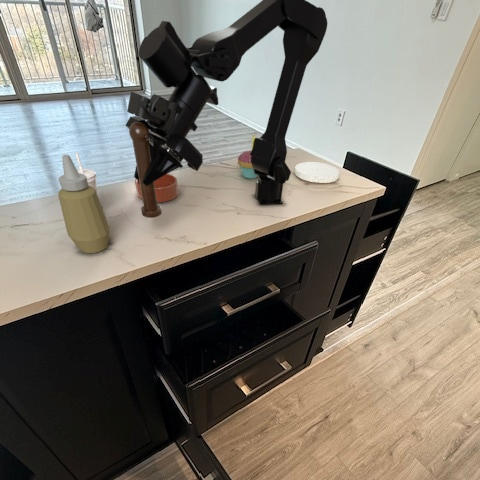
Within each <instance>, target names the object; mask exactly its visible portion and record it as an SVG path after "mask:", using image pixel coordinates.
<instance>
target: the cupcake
mask: <svg viewBox="0 0 480 480" xmlns="http://www.w3.org/2000/svg"><path fill="white" fill-rule="evenodd" d="M255 133H256V132H255V131H253V135H252V140H251V141H252V142H251V149H252V148H253V143H254V140H255V138H256V134H255ZM251 151H252V150H245V151H243V152H241V153H240V154H239V155H238V156H237V165H238V166H239V167H240V169H241V173H242V174H241V175H242V177H243V178H245V179H256V178H258V176H259V175H257V174H254V170H253V166H252V163H251V156H252V155H250V153H251Z"/></svg>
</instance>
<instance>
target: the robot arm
mask: <svg viewBox="0 0 480 480" xmlns="http://www.w3.org/2000/svg"><path fill="white" fill-rule="evenodd" d="M277 27H278V28H279V29H280V30H282V31H283V35H282V36H283V37H282V45H283V53H284V59H283V60H284V61H283V65H282V69H281V72H280V75H279V79H278V83H277V86H276V87H277V88H276V90H275V94H274V98H273V102H272V106H271V110H270V113H269V117H268V120H267V125H266V129H265V131H264V132H263V134H262V135H261V136H260V137H257V136H255V140H254V143H253V148H252V147H251V150H250V151H251V153H250V155H252V156H251V163H252V166H253V170H254V174H257V175H258V176H257V181H255V191H254V197H255V199H256V200H257V202H258V204H259V205H260V206H266V205H267V206H269V205H271V206H272V205H283V204H284V201H283V199H282V195H283V190H284V184H286V182H288V181H289V180H290V177H291V175H292V171H291V169H290V167H289V166H288V164H287V163H286V158H287V154H288V149H287V142H286V135H287V132H288V129H289V125H290V122H291V119H292V115H293V113H294V108H295V105H296V102H297V98H298V95H299V92H300V88H301V85H302V82H303V80H304V75H305V72H306V69H307V66H308V64H309V63H310V62H311V61H312V60H313V58H315V56H316V55H317V53H318V52H319V51H320V48H321V46H322V44H323V41H324V38H325V36H326V33H327V30H328V18H327V14H326V11H325V10H324V8H323V7H320V6H316V5H315V4H313V3H311V2H309V1H307V0H260V2H259V3H257V4H256V5H254V6H253V7H252V8H250V10H248V11H246V13H244V14H243V15H242V16H240V17H239V18H238V19H237V20H235V21H234V22H233V23H231V24H230V25H229V26H227V27H225V28H223V29H220V30H219V29H218V30H216V31H211V32H209V33H207V34H204V35H202V36H200V37H198V38H196V39H195V40H194V42H193V43H192V45H191V46H188V47H187V46H186V45H185V44H184V42H183V40H182V39H181V38H180V37H179V35H178V33H177V31H176V29H175V27H174V26H173V24H172V23H171V21H167V20H165V21H164V20H161V22H160V23H159V25H158V26H157V27H155V28H154V29H153V30H151V31H150V32H149V33H148V34H147V36H144V37H143V39H142V41H141V43H140V45H139V49H138V57H139V59H141V61H142V62H143V63H144V64H145V65H146V67H147V68H148V70H150V71H151V72H152V74H153V75H154V76H155V77H156V78H157V80H159V82H160V83H161V84H162V85H163V87H165V88H172V87H173V88H174V89H173V90H172V93H171V94H170V96H169V97H168V99H166V98H164V97H162V96H160V95H158V94H155V93H153V94H152V95H151V96H150V98H148V97H147V96H144V95H142V94H139V93H137V92H133V91H130V95H129V99H128V104H127V110H126V111H127V113H128V114H131V115H134V116H129V118H128V120H127V122H126V123H125V127H126V128H127V129H128V130H129V129H130V126H131V125H132V124H133V123H135V122H141V123H143V124H144V125H145V126H146V127H147V128H148V130H149V139H148V141H149V148H150V155H151V163H150V165H149V167H148V169H147V171H146V173H145V175H144V178H143V180H142V183H143V184H144V185H146V186H147V185H149V184H151V183H152V182H154V181H156V180H157V179H159V178H161V177H162V176H164V175H166V174H170V173H171V172H173V171H175V170H177V169H179V168H180V169H182V168H183V167H184V165H183V164H182V162H183V161H185V162H186V166H187V167H188V168H190V169H192V170H193V171H196V172H198V171H199V170H200V168H201V167H202V164H203V162H204V158H203V157H204V156H203V154H202V153H201V151H199V150H198V149H197V148H196V146H194V145H193V143H192V142H191V141H190V140H189V139H188V138H186V137H187V136H188V134H189V132H190V131H192V132H196V131H197V129H198V125H197V124H196V121H197V119H198V117H199V116H200V114H201V113H202V111H203V109H204V107H205V106H206V105H207V103H208V104H211V105H214V106H218V105H219V97H218V88H217V87H216V86H211V85H210V84H209V82H208V81H207V80H206V79H209V80H211V81H212V80H213V81H218V82H221V83H223V82H225V81H227V80H228V79H229V78H230V77H231V76H232V75H233V74H234V73H235V71H236V70H237V69H238V68H239V67H240V65H241V61H242V58H243V57H244V55H245V54H246V52H248V51H249V50H250V49H252V48H253V47H254V46H255V45H257V44H258V43H259V42H260V41H262V40H263V39H265V37H266V36H268V35H269V34H270V33H271V32H272V31H274V30H275V29H276V28H277ZM205 78H206V79H205ZM133 178H134V179H137V180H139V176H138V171H137V165H136V164H135V170H134V174H133Z"/></svg>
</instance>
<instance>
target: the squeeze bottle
mask: <svg viewBox="0 0 480 480" xmlns="http://www.w3.org/2000/svg"><path fill="white" fill-rule="evenodd" d="M61 159H62V168H63V174H62V175H61V176H59V177H58V183H59V185H60V187H61V188H60V189H59V191H58V193H57V196H58V200H59V204H60V208H61V213H62V216H63V220H64V225H65V229H66V234H67V236H68V237H69V239H71V241H72V242H73V243H74V244H75V246H76V247H77V248H78V249H79V251H80V252H81V253H85V254H96V253H99V252H103V251H104V250H106V249H107V248H108V246H109V238H110V232H111V231H110V225H109V222H108V219H107V217H106V215H105V211H104V209H103V206H102V204H101V201H100V199H99V195H98V196H97V193H96V190H95V189H94V188H93V187H91V186H90V185H88V181H87V177H86V176H85V175H84V174H81V173H78V171H77V169H78V168H77V166H76V165H75V163H74V161H73V159H72V158H71V156H70V155H69V154H63V155H62V156H61Z"/></svg>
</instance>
